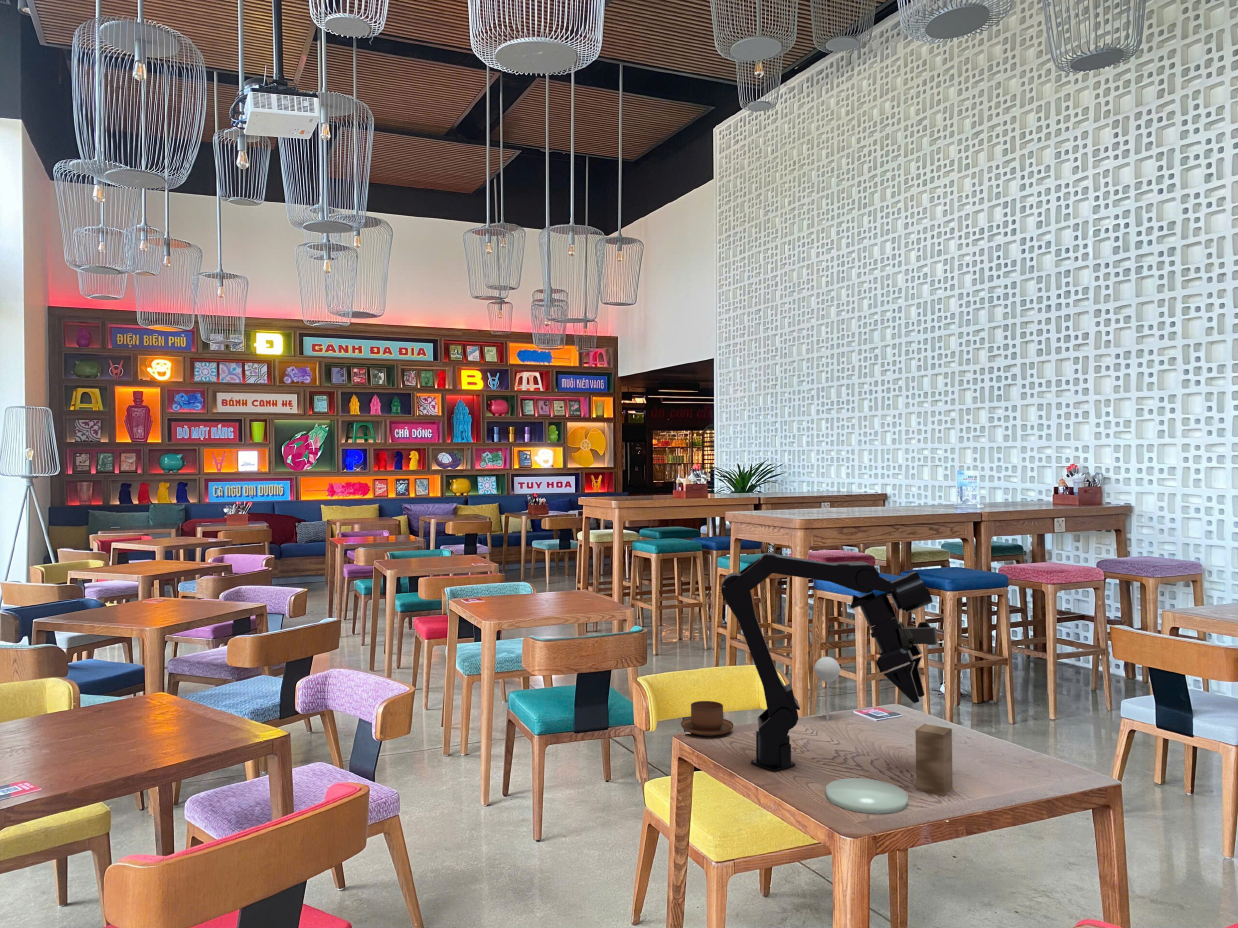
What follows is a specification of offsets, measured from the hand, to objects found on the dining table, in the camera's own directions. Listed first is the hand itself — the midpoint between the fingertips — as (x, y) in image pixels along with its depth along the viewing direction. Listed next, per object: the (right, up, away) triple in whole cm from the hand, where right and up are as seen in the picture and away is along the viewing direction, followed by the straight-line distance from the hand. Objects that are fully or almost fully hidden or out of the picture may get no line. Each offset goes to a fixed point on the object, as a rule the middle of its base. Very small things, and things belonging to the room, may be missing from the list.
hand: (919, 699), depth 158 cm
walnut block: (+1, -15, -6) cm, 16 cm away
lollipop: (-7, -17, +40) cm, 44 cm away
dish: (-13, -15, -11) cm, 23 cm away
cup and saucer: (-37, -16, +30) cm, 51 cm away
